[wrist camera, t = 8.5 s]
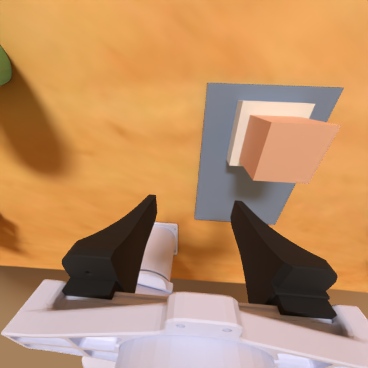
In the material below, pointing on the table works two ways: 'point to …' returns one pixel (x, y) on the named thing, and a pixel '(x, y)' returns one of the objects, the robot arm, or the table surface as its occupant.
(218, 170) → the board
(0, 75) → the mug
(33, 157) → the table surface
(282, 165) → the terracotta block
